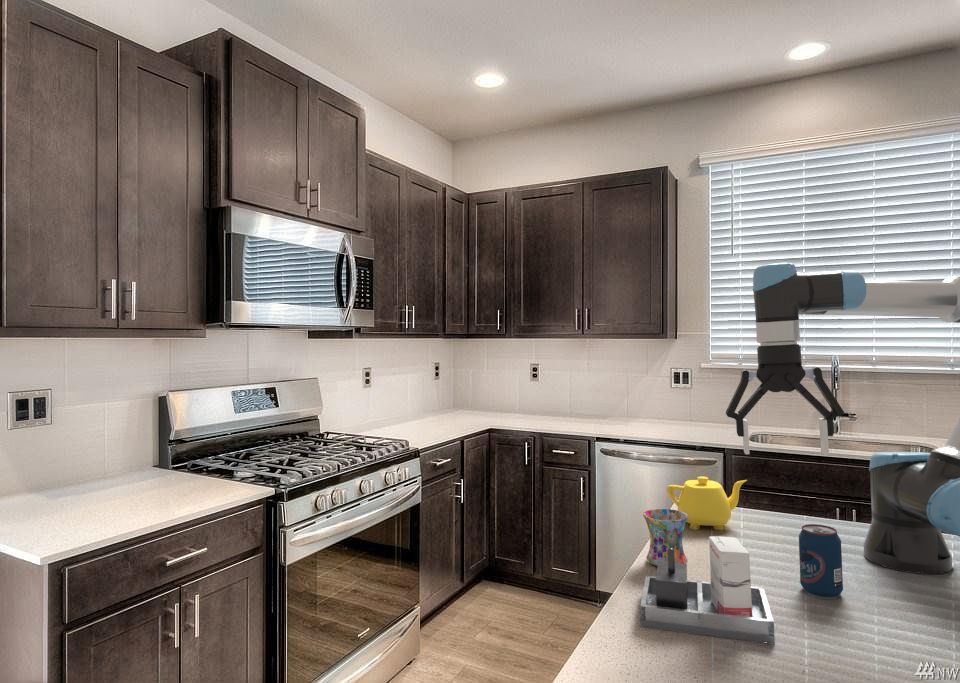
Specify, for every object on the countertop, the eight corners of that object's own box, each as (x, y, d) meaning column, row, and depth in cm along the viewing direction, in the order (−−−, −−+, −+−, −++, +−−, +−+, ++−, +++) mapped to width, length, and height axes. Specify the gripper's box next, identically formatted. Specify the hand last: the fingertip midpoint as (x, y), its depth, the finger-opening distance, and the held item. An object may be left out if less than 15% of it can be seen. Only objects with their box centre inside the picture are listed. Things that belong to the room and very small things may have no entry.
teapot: (755, 534, 142) (753, 483, 142) (671, 531, 146) (669, 482, 146) (741, 518, 155) (739, 472, 156) (664, 516, 159) (662, 471, 159)
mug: (688, 573, 119) (686, 522, 119) (642, 568, 123) (640, 518, 123) (691, 554, 130) (689, 507, 130) (648, 549, 134) (647, 503, 134)
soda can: (792, 589, 110) (789, 526, 110) (817, 582, 113) (814, 521, 113) (826, 603, 104) (824, 536, 104) (851, 595, 107) (849, 531, 107)
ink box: (754, 625, 94) (751, 552, 95) (722, 623, 95) (720, 552, 95) (738, 601, 103) (736, 535, 103) (710, 600, 104) (707, 535, 104)
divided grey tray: (764, 605, 104) (761, 542, 104) (774, 644, 91) (772, 571, 91) (646, 592, 111) (644, 533, 111) (640, 626, 98) (638, 559, 98)
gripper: (846, 340, 111) (853, 449, 111) (708, 347, 119) (714, 449, 119) (858, 340, 104) (865, 457, 104) (710, 347, 112) (717, 456, 112)
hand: (785, 453), depth 111 cm, fingers open, 13 cm apart
